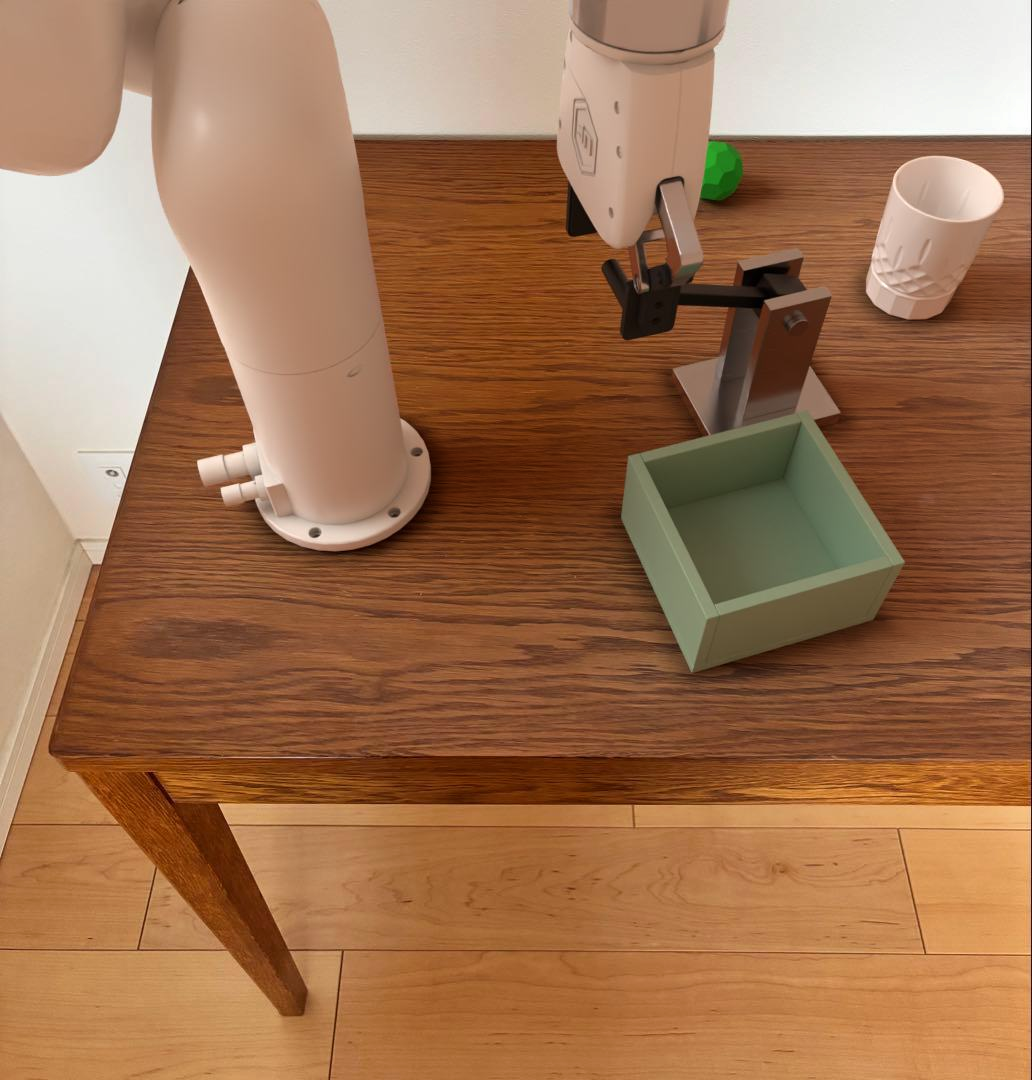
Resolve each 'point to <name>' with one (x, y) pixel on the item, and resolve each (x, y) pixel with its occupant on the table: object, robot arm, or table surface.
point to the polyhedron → (721, 171)
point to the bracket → (762, 357)
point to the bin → (755, 539)
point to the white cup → (930, 234)
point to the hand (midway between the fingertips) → (616, 279)
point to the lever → (715, 290)
